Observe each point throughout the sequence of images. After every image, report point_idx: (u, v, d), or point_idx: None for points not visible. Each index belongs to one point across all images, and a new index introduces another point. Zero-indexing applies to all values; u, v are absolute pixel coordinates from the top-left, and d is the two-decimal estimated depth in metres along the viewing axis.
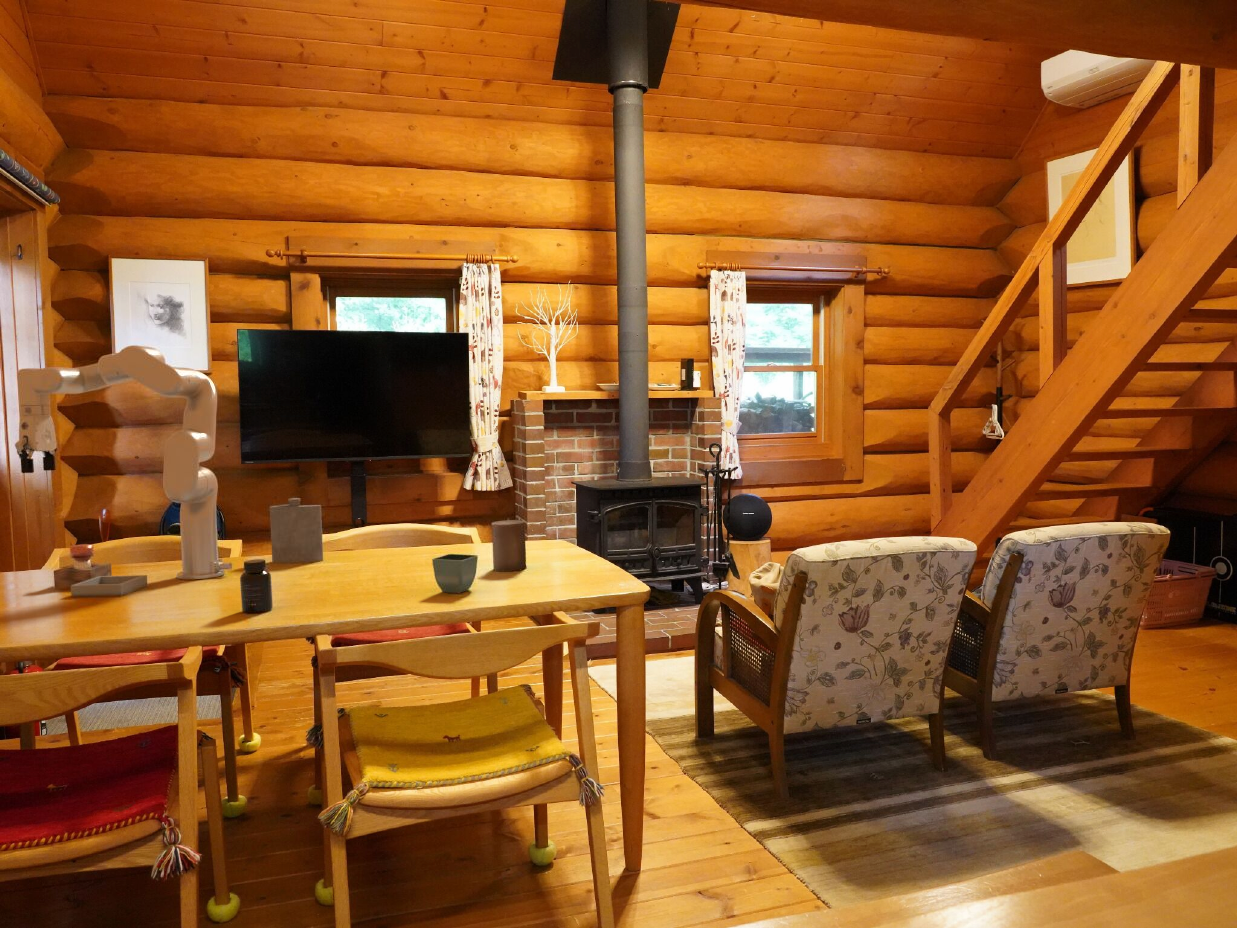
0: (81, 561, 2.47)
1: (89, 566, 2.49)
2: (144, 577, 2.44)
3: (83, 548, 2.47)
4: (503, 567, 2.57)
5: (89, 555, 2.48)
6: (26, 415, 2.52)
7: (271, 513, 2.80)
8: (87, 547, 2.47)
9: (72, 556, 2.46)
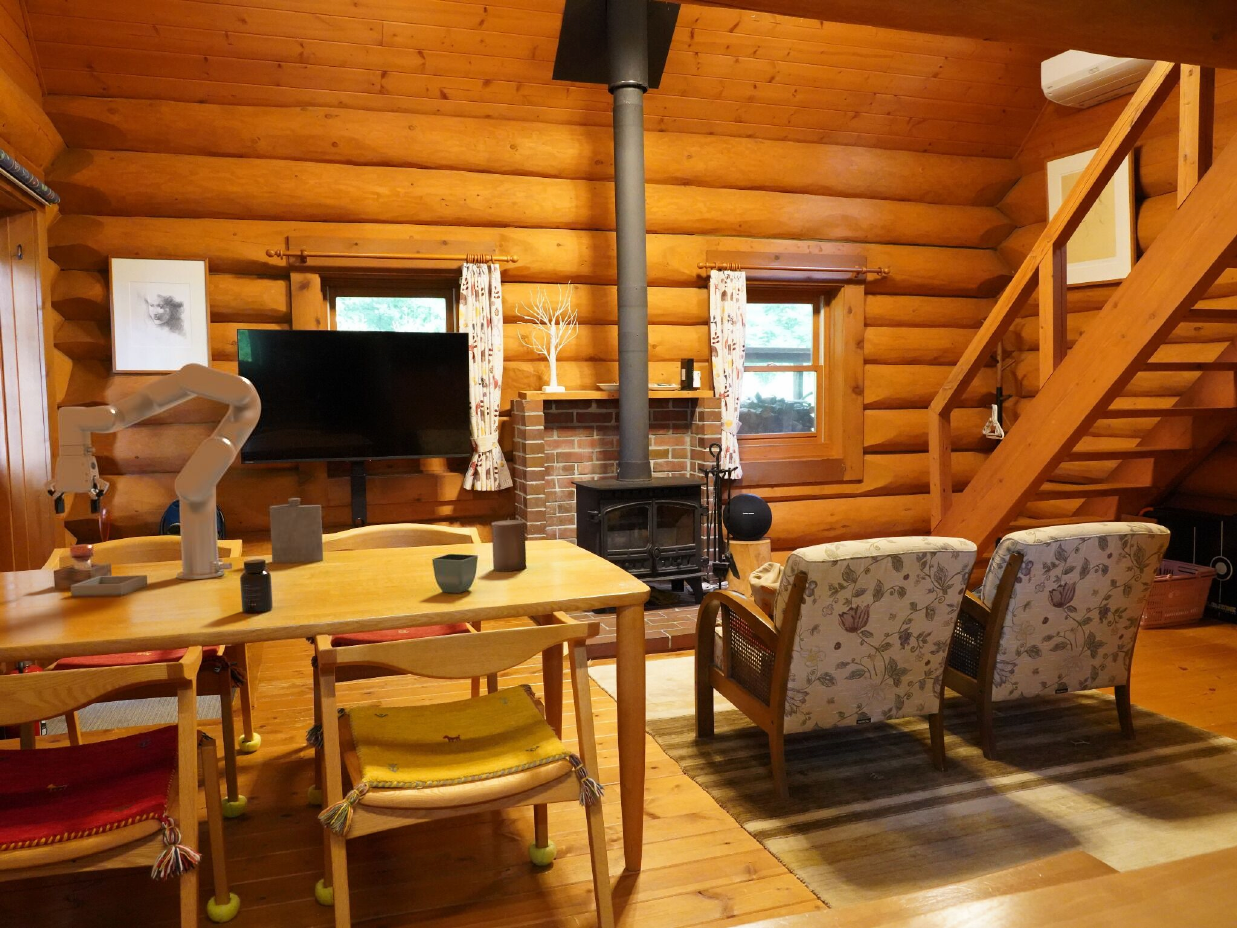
0: (81, 561, 2.47)
1: (89, 566, 2.49)
2: (144, 577, 2.44)
3: (83, 548, 2.47)
4: (503, 567, 2.57)
5: (89, 555, 2.48)
6: (88, 455, 2.47)
7: (271, 513, 2.80)
8: (87, 547, 2.47)
9: (72, 556, 2.46)
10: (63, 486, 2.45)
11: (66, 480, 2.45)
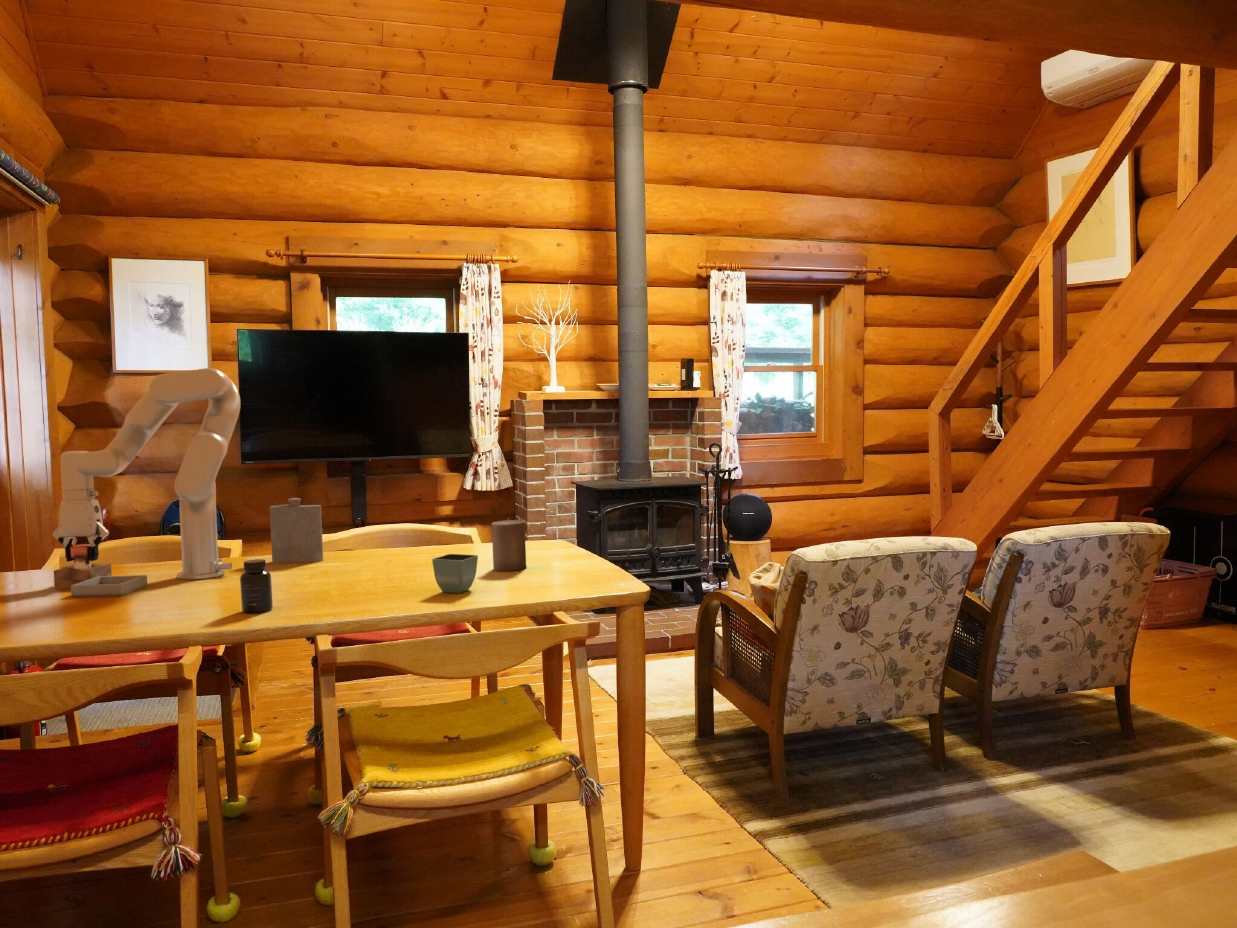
0: (81, 561, 2.47)
1: (89, 566, 2.49)
2: (144, 577, 2.44)
3: (83, 548, 2.47)
4: (503, 567, 2.57)
5: None
6: (92, 498, 2.48)
7: (271, 513, 2.80)
8: (87, 547, 2.47)
9: (72, 556, 2.46)
10: (67, 531, 2.46)
11: (70, 524, 2.46)
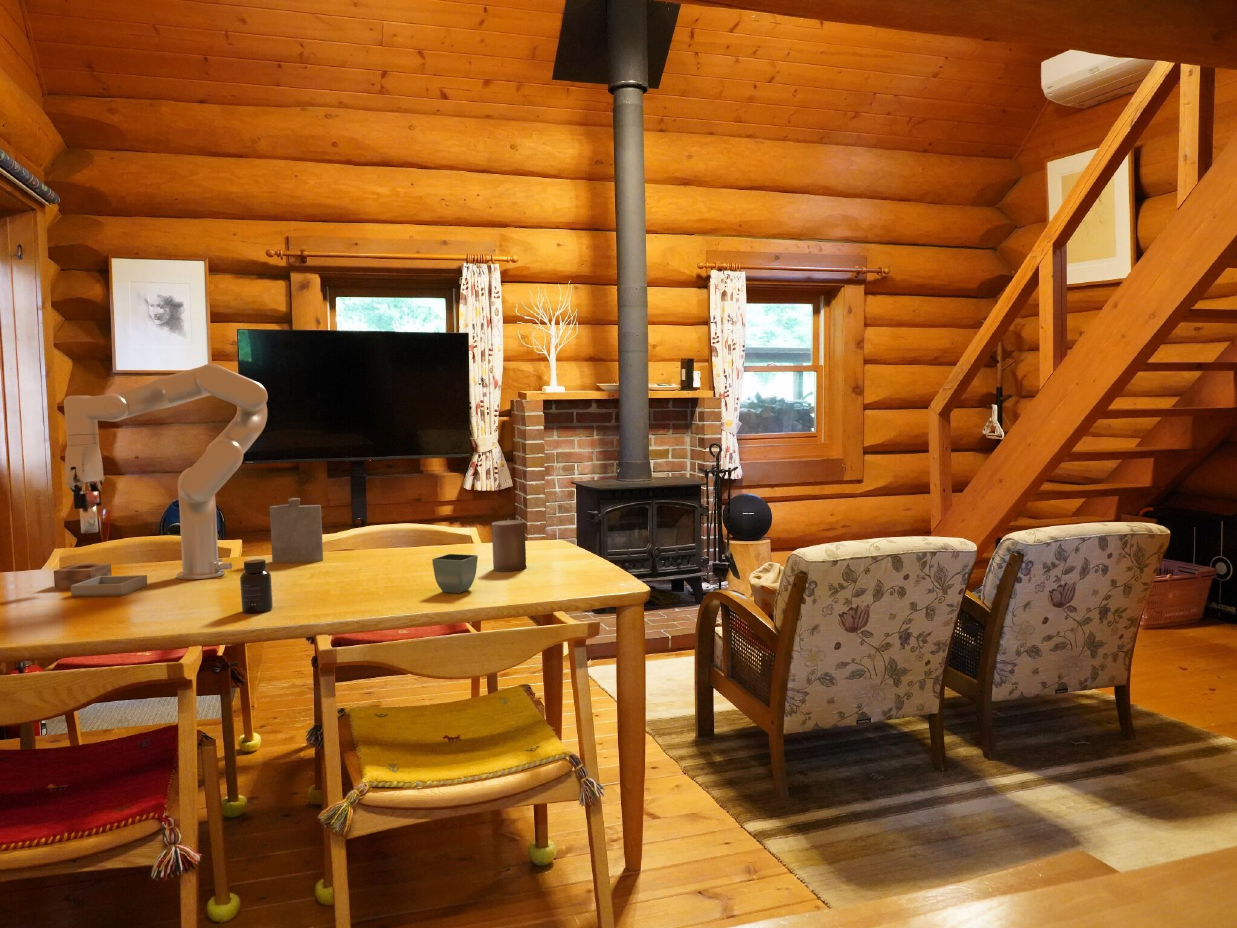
0: (96, 507, 2.46)
1: None
2: (144, 577, 2.44)
3: None
4: (503, 567, 2.57)
5: None
6: None
7: (271, 513, 2.80)
8: None
9: (94, 501, 2.44)
10: (88, 476, 2.42)
11: (90, 469, 2.43)
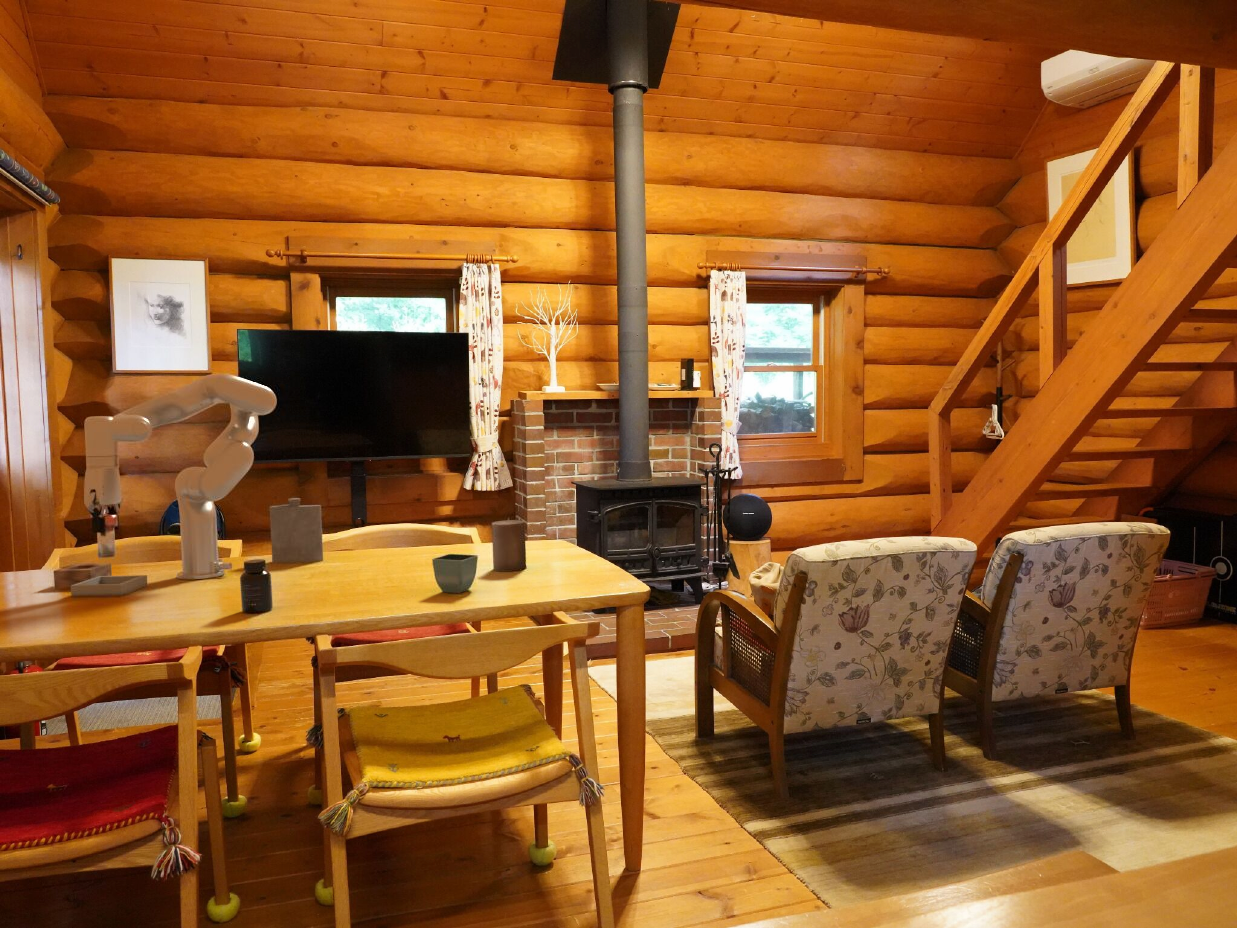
0: None
1: None
2: (144, 577, 2.44)
3: None
4: (503, 567, 2.57)
5: None
6: None
7: (271, 513, 2.80)
8: None
9: (112, 525, 2.37)
10: (107, 499, 2.35)
11: (110, 492, 2.36)
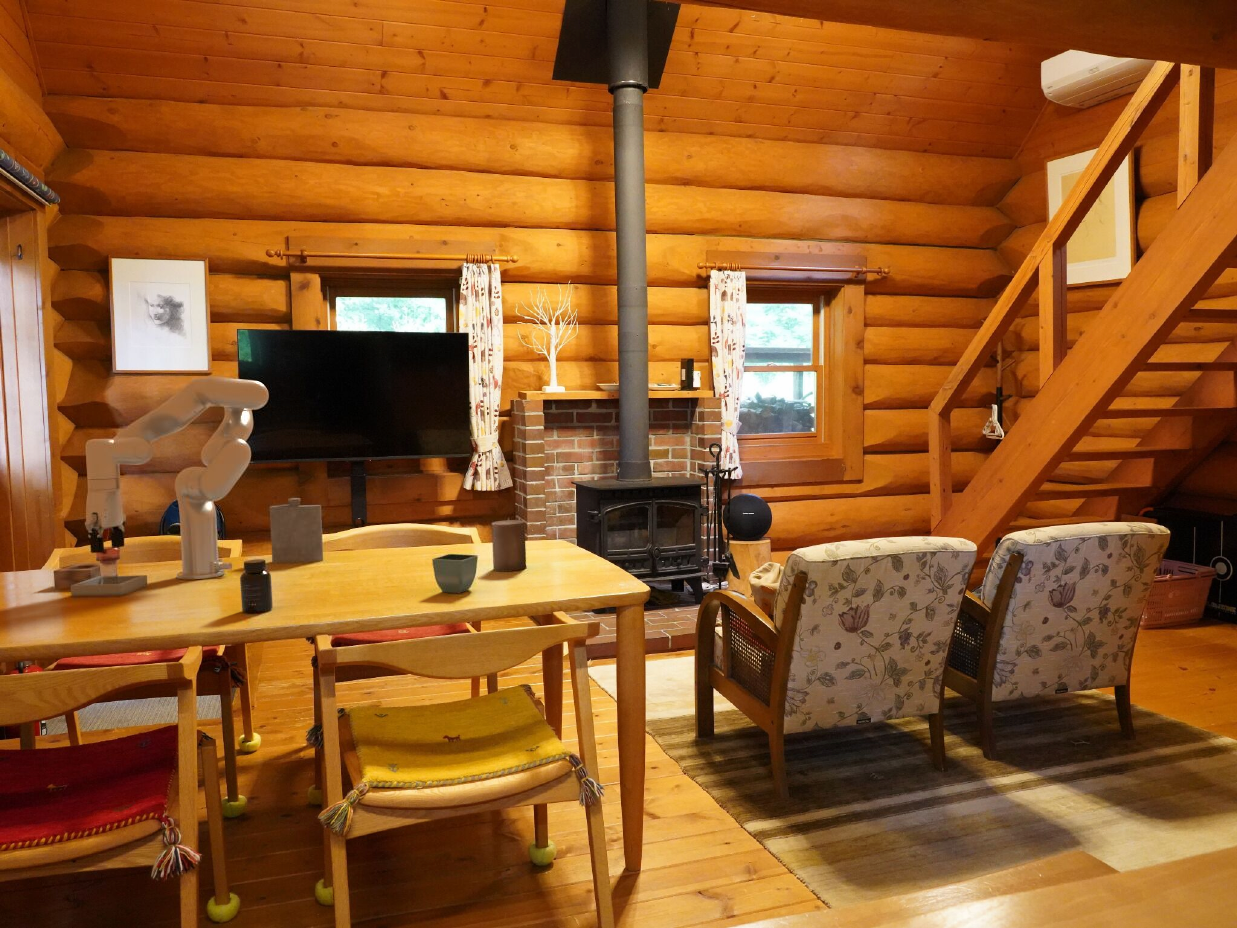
0: None
1: None
2: (144, 577, 2.44)
3: None
4: (503, 567, 2.57)
5: None
6: None
7: (271, 513, 2.80)
8: None
9: (115, 558, 2.38)
10: (109, 522, 2.36)
11: (112, 515, 2.37)
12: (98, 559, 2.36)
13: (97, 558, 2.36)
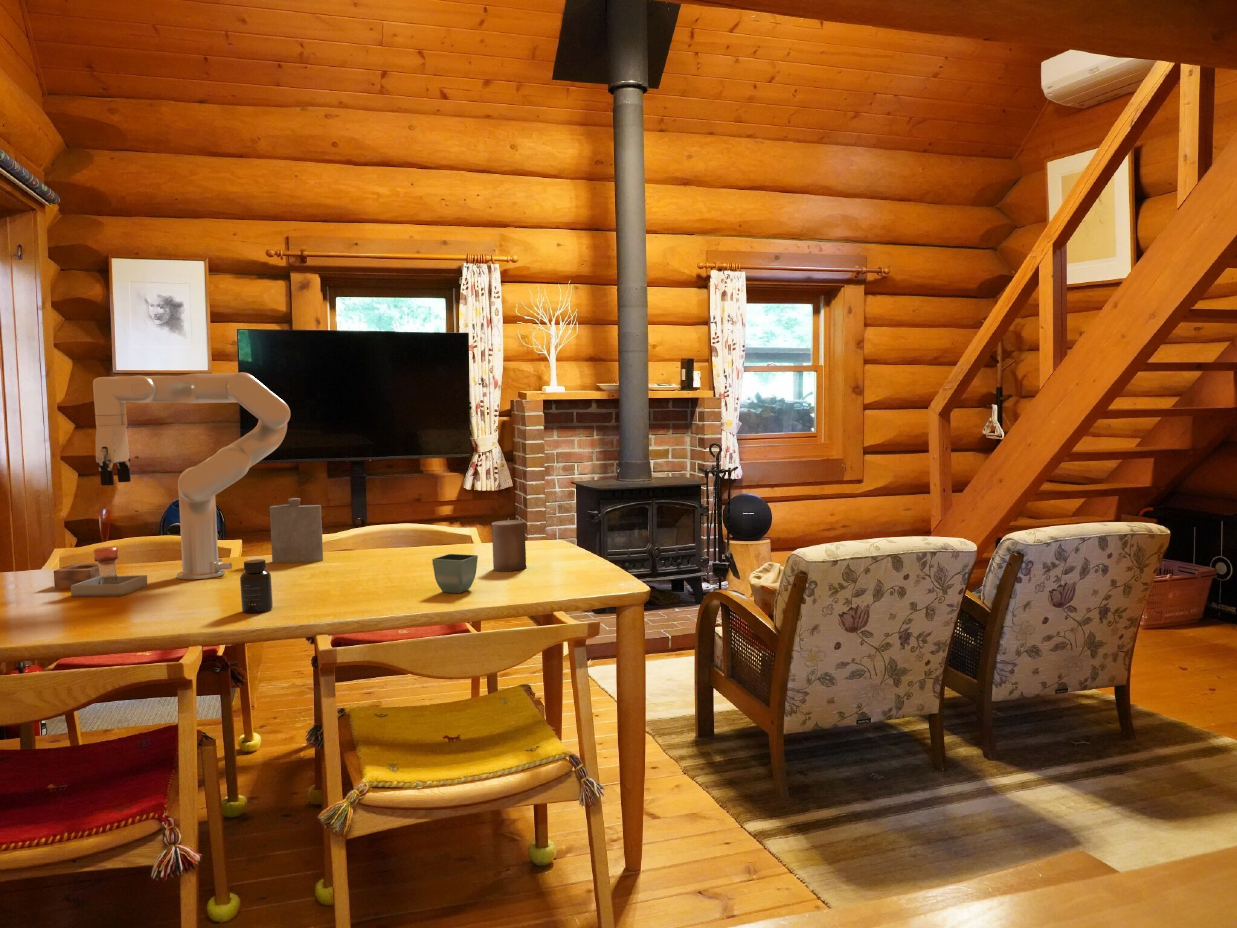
0: (115, 563, 2.39)
1: None
2: (144, 577, 2.44)
3: None
4: (503, 567, 2.57)
5: None
6: None
7: (271, 513, 2.80)
8: None
9: (113, 558, 2.37)
10: (118, 456, 2.46)
11: (120, 450, 2.47)
12: (96, 560, 2.36)
13: (95, 559, 2.36)
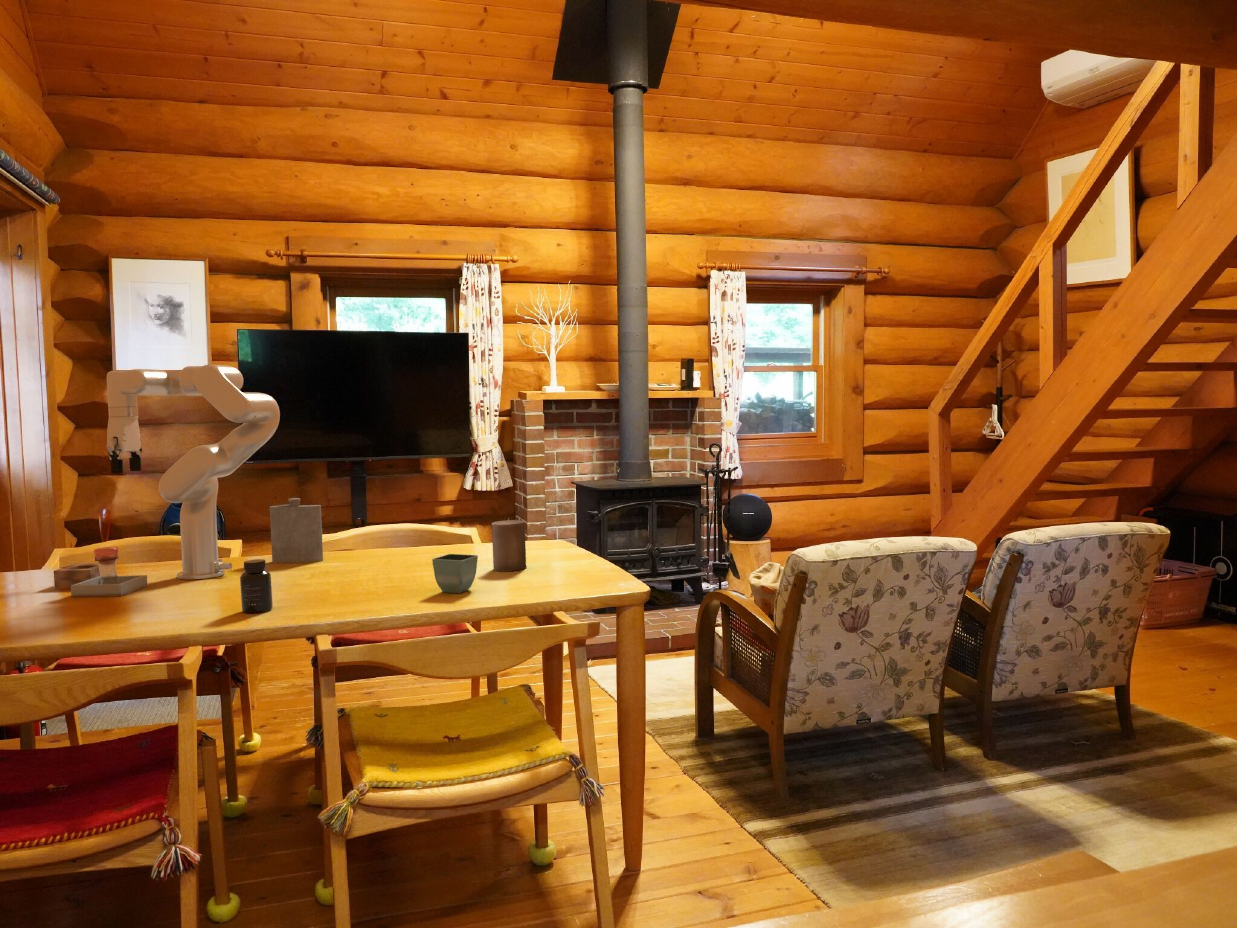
0: None
1: None
2: (144, 577, 2.44)
3: None
4: (503, 567, 2.57)
5: None
6: None
7: (271, 513, 2.80)
8: None
9: (114, 557, 2.38)
10: (128, 446, 2.59)
11: (130, 440, 2.59)
12: (97, 559, 2.36)
13: (96, 558, 2.36)
